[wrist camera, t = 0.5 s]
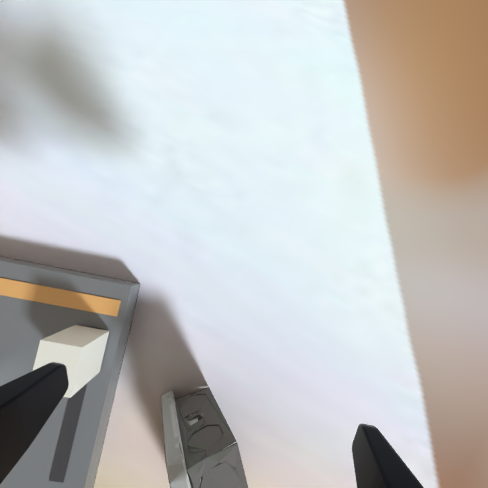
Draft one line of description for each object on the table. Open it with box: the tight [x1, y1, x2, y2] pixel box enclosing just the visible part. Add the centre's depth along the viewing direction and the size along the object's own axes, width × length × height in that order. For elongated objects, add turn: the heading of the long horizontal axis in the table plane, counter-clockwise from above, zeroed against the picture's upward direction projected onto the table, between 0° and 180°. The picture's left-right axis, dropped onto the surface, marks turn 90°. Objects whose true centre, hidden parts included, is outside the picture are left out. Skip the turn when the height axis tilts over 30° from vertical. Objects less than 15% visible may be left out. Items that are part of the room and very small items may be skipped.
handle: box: [33, 325, 109, 398], centre depth 17 cm, size 3×2×4 cm
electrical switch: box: [162, 387, 248, 488], centre depth 17 cm, size 9×5×9 cm, turn 14°
